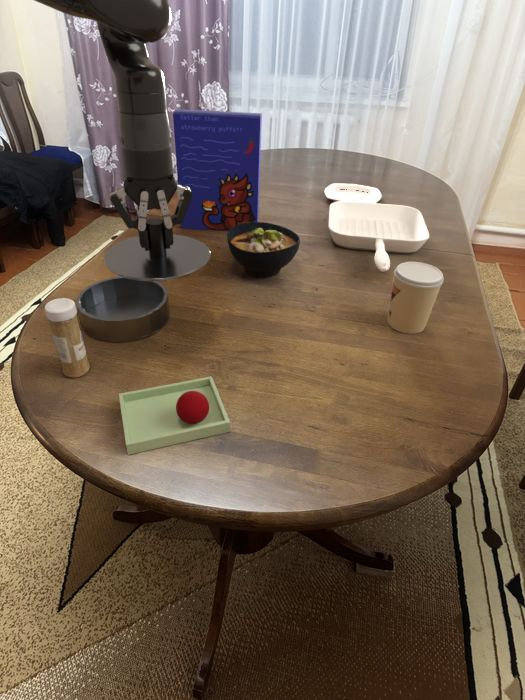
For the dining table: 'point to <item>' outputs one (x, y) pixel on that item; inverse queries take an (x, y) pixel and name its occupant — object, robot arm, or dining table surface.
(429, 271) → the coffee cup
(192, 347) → the dining table surface
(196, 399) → the dark red ball
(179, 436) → the tray
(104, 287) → the pot
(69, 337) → the sprinkles bottle
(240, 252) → the bowl
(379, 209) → the pan
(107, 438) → the dining table surface
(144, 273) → the pot lid
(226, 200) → the cereal box
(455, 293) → the dining table surface
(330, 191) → the plate
